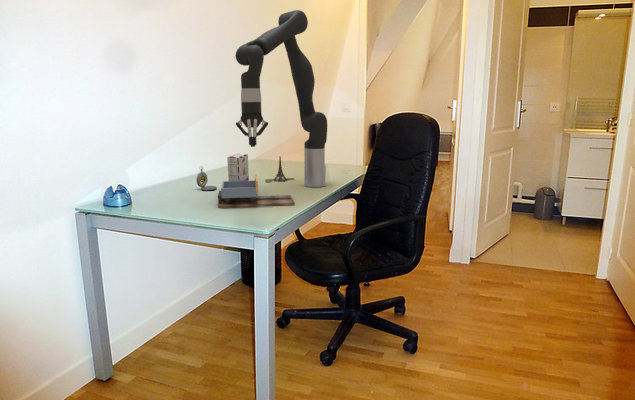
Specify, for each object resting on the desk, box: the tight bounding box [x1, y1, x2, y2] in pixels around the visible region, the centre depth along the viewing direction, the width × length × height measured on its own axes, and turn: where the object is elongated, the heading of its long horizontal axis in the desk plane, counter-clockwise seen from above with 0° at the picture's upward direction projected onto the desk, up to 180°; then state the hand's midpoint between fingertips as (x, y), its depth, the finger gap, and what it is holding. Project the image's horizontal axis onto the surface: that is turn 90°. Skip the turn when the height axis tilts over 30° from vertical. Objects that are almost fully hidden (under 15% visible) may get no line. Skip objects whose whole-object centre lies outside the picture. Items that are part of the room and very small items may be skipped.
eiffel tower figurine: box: [264, 156, 295, 183], centre depth 219 cm, size 15×10×13 cm
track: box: [217, 190, 296, 209], centre depth 173 cm, size 28×14×4 cm, turn 99°
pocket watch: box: [196, 166, 218, 192], centre depth 197 cm, size 8×8×10 cm
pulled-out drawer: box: [220, 173, 259, 203], centre depth 171 cm, size 13×15×8 cm
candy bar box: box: [227, 153, 250, 181], centre depth 186 cm, size 11×5×16 cm, turn 168°
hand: (252, 146), depth 175 cm, fingers closed
